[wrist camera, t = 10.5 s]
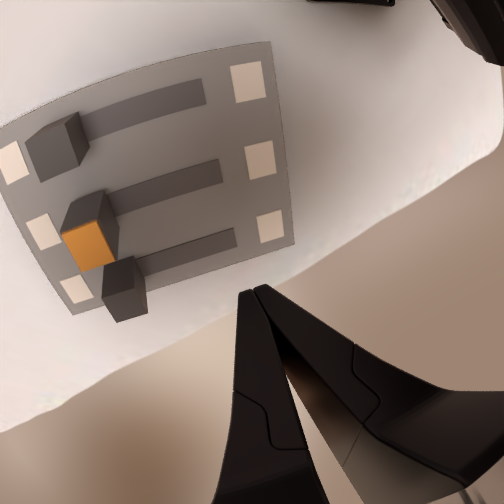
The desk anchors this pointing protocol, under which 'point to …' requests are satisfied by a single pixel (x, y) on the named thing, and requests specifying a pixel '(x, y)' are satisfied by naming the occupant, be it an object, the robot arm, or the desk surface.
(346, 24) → the desk surface
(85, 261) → the block
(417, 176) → the desk surface
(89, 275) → the panel
